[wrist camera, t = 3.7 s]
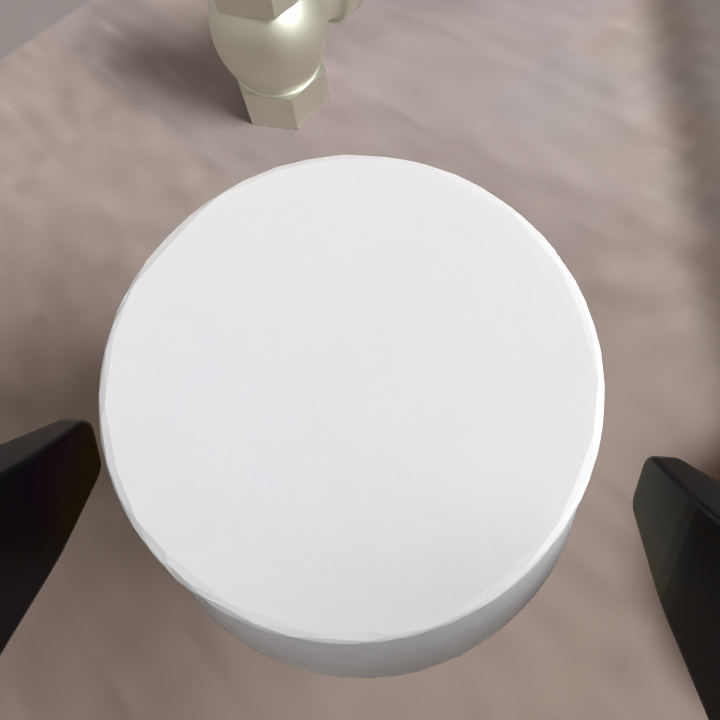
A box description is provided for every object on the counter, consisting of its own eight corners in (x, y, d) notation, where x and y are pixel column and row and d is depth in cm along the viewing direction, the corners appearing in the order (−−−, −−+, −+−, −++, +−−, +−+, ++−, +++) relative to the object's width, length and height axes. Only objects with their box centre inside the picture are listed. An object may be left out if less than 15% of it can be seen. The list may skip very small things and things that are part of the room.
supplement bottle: (230, 456, 18) (-111, 261, 5) (399, 352, 19) (433, -15, 6) (337, 652, 16) (179, 1031, 3) (521, 524, 17) (905, 468, 4)
